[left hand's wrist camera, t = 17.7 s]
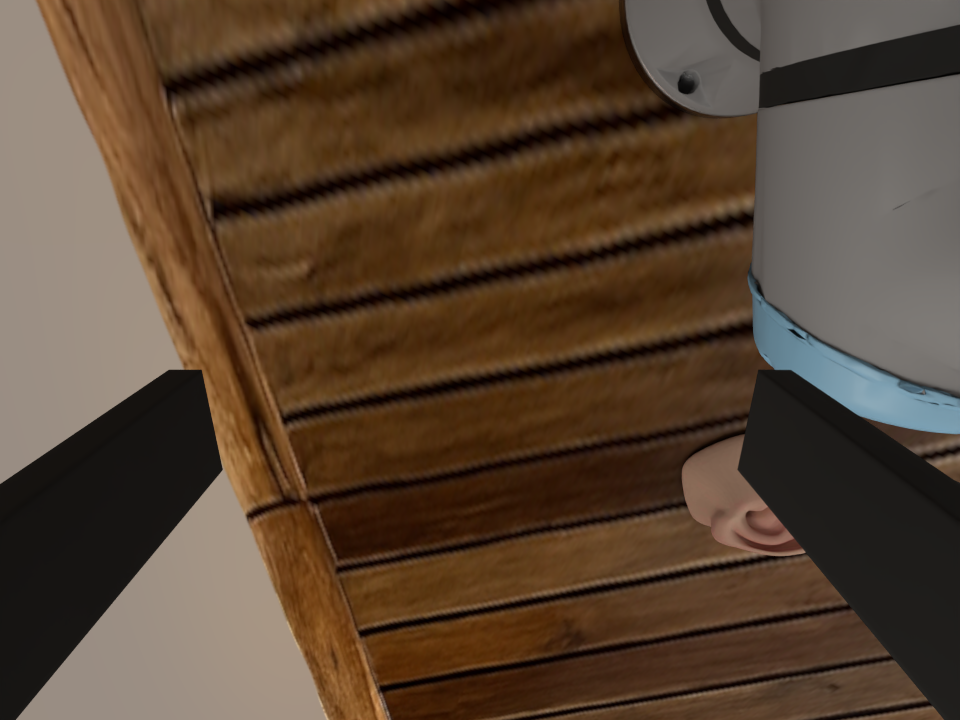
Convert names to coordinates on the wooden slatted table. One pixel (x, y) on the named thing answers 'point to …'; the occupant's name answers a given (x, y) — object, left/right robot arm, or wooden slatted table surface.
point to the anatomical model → (732, 502)
